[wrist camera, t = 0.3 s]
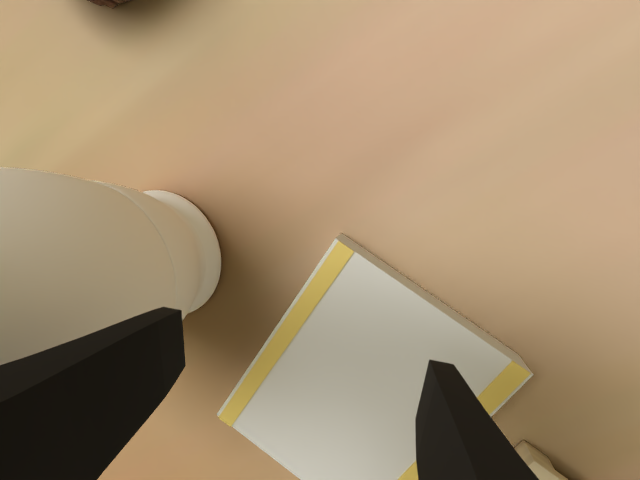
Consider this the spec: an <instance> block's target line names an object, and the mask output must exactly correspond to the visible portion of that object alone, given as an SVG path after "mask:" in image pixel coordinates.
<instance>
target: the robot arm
mask: <svg viewBox="0 0 640 480" xmlns="http://www.w3.org/2000/svg"><path fill="white" fill-rule="evenodd" d="M184 367H185V353H184V339H183V325H182V310H178V309H173V308H168V307H161V308H157V309H154V310H151V311H148V312H145V313H143V314H140V315H137V316H134V317H132V318H129V319H127V320H124V321H122V322H119V323H116V324H114V325H111V326H109V327H106V328H103V329H101V330H98V331H96V332H93V333H91V334H88V335H85V336H83V337H80V338H78V339H75V340H72V341H69V342H66V343H64V344H61V345H58V346H55V347H52V348H50V349H47V350H44V351H41V352H38V353H36V354H33V355H30V356H27V357H24V358H21V359H18V360H15V361H12V362H9V363H5V364H2V365H0V480H97V479H98V478H99V476H100V475H101V474H102V473H103V471H104V470H105V469H106V468H107V467H108V465H109V464H110V463H111V462H112V461H113V459H114V458H115V457H116V456H117V455H118V453H119V452H120V451H121V450H122V449H123V447H124V446H125V445H126V444H127V443H128V442H129V440H130V439H131V438H132V437H133V436H134V434H135V433H136V432H137V431H138V430H139V428H140V427H141V426H142V425H143V424H144V422H145V421H146V420H147V419H148V418H149V416H150V415H151V414H152V413H153V412H154V410H155V409H156V408H157V407H158V406H159V404H160V403H161V402H162V401H163V399H164V398H165V397H166V395H167V394H168V392H169V391H170V389H171V388H172V386H173V385H174V383H175V382H176V380H177V379H178V377H179V375H180V374H181V372H182V371H183V369H184ZM415 432H416V463H417V472H418V480H539V479H538V478H537V476H536V475H535V474H534V473H533V471H532V470H531V469H530V468H529V467H528V465H527V464H526V463H525V462H524V460H523V459H522V458H521V457H520V455H519V454H518V453H517V452H516V450H515V449H514V448H513V446H512V445H511V444H510V442H509V441H508V440H507V438H506V437H505V436H504V434H503V433H502V432H501V430H500V429H499V428H498V426H497V425H496V424H495V422H494V421H493V420H492V418H491V417H490V415H489V414H488V413H487V411H486V410H485V409H484V407H483V406H482V404H481V403H480V401H479V400H478V399H477V397H476V396H475V394H474V393H473V391H472V390H471V388H470V387H469V386H468V384H467V383H466V381H465V380H464V378H463V377H462V375H461V374H460V372H459V371H458V370H457V368H456V367H455V365H454V364H450V363H445V362H440V361H435V360H430V359H429V363H428V367H427V371H426V376H425V380H424V384H423V388H422V393H421V397H420V401H419V405H418V410H417V414H416V418H415Z"/></svg>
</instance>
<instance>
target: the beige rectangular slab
mask: <svg viewBox="0 0 640 480" xmlns="http://www.w3.org/2000/svg"><path fill="white" fill-rule="evenodd" d="M514 449H515V450H516V452H517V453H518V454H519V455H520V457H521V458H522V459H523V460H524V462H525V463H526V464H527V465H528V467H529V468H530V469H531V470H532V471H533V473H534V474H535V475H536V476H537V478H538V479H539V480H568V479H567V478H565V477H564V476H563V475H561V474H560V473H558V472H557V471H556V470H555V469H554V468H553V466H552V464H551V462H550V460H549V459H548V457H547V456H546V455H544V454H543V453H541V452H540V451H539V450H537V449H536V448H534V447H533V446H531V445H530V444H529V443H527V442H526V441H524V440H522V441H521V442H520V443H519V444H518V445H517V446H516V447H515V448H514Z"/></svg>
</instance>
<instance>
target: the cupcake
mask: <svg viewBox="0 0 640 480" xmlns="http://www.w3.org/2000/svg"><path fill="white" fill-rule="evenodd" d="M88 1H90V2H93V3H95V4H97V5H100V6H101V5H106V6H108V7H111V8H114V7H115V6H116V5H118V4H119V3H124V2H127V1H131V0H88Z"/></svg>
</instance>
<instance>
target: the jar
mask: <svg viewBox="0 0 640 480" xmlns="http://www.w3.org/2000/svg"><path fill="white" fill-rule="evenodd" d="M220 272H221V252H220V247H219V243H218V240H217V237H216V234H215V232H214V230H213V228H212V226H211V224H210V223H209V221H208V220H207V218H206V217H205V216H204V214H203V213H202V212H201V211H200V210H199V209H198V208H197V207H196V206H195V205H194V204H192V203H191V202H190V201H188V200H187V199H185V198H183V197H181V196H179V195H177V194H175V193H171V192H168V191H162V190H150V191H144V192H141V191H138V190H135V189H132V188H129V187H126V186H122V185H118V184H113V183H108V182H102V181H95V180H87V179H83V178H79V177H75V176H70V175H65V174H60V173H54V172H48V171H41V170H33V169H23V168H11V167H0V365H2V364H5V363H9V362H12V361H15V360H18V359H21V358H24V357H27V356H30V355H33V354H36V353H38V352H41V351H44V350H47V349H50V348H52V347H55V346H58V345H61V344H64V343H66V342H69V341H72V340H75V339H78V338H80V337H83V336H85V335H88V334H91V333H93V332H96V331H98V330H101V329H103V328H106V327H109V326H111V325H114V324H116V323H119V322H122V321H124V320H127V319H129V318H132V317H134V316H137V315H140V314H143V313H145V312H148V311H151V310H154V309H157V308H161V307H168V308H173V309H178V310H182V321H183V319H184V318H185V316H186V315H187V314H188V313H190V312H193V311H195V310H196V309H198V308H200V307H201V306H202V305H203V304H205V303H206V302H207V301H208V299H209V298H210V297H211V295H212V294H213V292H214V291H215V289H216V286H217V284H218V281H219V277H220Z"/></svg>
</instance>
